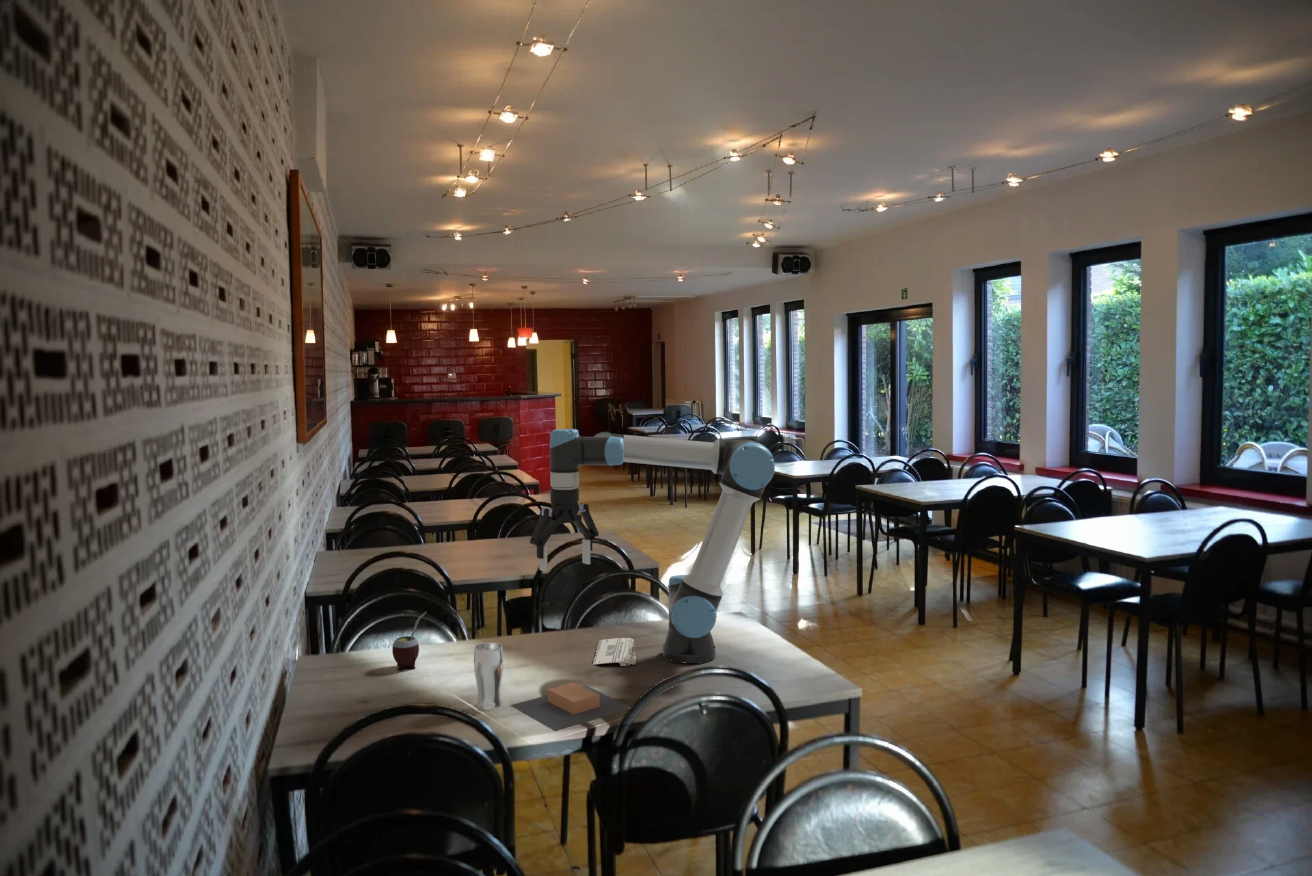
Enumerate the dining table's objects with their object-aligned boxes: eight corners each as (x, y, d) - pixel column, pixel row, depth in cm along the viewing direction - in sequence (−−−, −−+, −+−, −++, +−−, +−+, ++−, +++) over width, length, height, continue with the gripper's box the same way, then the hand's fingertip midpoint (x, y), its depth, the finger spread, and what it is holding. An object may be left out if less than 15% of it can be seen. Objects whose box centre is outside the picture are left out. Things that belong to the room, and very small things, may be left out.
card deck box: (572, 682, 226) (599, 694, 218) (573, 694, 227) (599, 706, 218) (547, 689, 222) (574, 702, 213) (547, 701, 222) (574, 714, 213)
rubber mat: (585, 686, 233) (585, 685, 233) (633, 709, 218) (633, 707, 218) (510, 706, 219) (510, 705, 219) (555, 732, 204) (555, 731, 204)
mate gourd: (387, 669, 246) (385, 615, 245) (407, 661, 253) (406, 608, 252) (408, 673, 243) (406, 618, 242) (428, 665, 250) (427, 611, 249)
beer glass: (505, 701, 223) (504, 641, 222) (501, 712, 216) (501, 650, 215) (477, 702, 222) (476, 642, 221) (472, 712, 216) (471, 650, 214)
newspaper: (635, 669, 248) (634, 660, 248) (591, 673, 249) (590, 664, 249) (640, 643, 271) (639, 635, 271) (599, 647, 272) (598, 639, 271)
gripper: (595, 482, 250) (595, 558, 252) (516, 490, 235) (517, 571, 236) (611, 485, 245) (611, 563, 246) (531, 493, 229) (532, 576, 231)
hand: (565, 567), depth 241 cm, fingers open, 13 cm apart
